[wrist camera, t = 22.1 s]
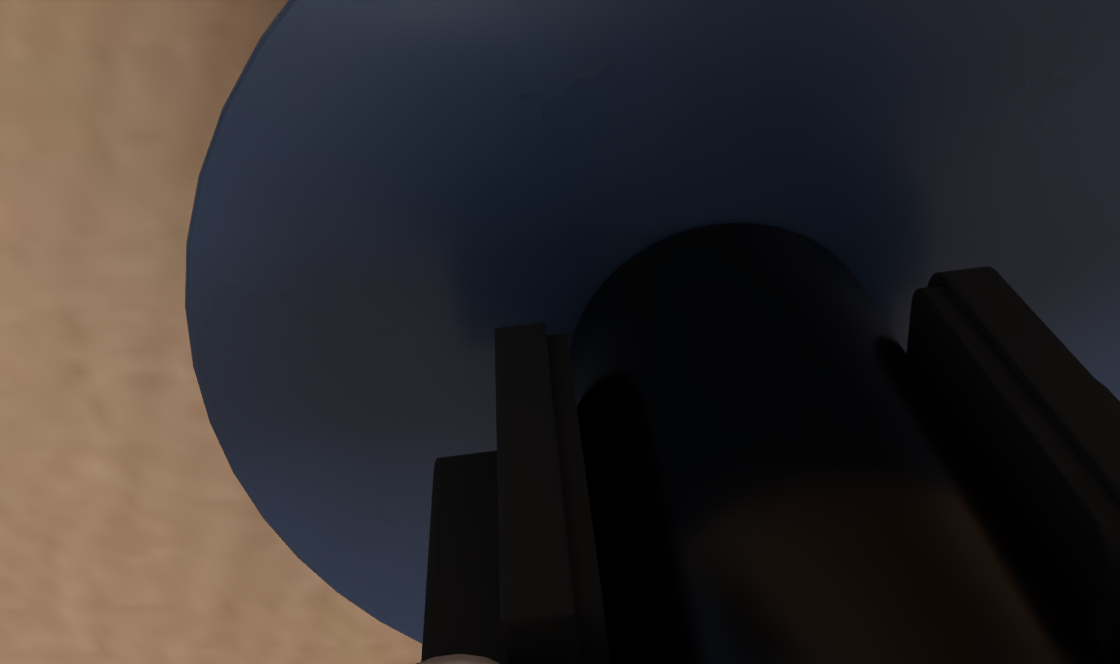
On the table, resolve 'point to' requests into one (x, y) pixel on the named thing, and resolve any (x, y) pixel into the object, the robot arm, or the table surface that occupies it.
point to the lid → (663, 296)
